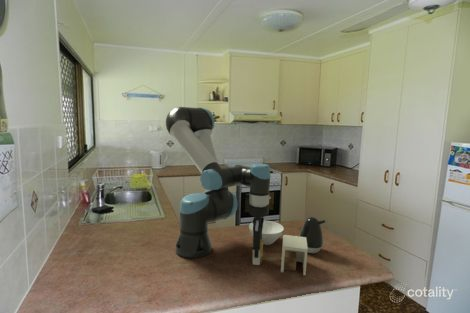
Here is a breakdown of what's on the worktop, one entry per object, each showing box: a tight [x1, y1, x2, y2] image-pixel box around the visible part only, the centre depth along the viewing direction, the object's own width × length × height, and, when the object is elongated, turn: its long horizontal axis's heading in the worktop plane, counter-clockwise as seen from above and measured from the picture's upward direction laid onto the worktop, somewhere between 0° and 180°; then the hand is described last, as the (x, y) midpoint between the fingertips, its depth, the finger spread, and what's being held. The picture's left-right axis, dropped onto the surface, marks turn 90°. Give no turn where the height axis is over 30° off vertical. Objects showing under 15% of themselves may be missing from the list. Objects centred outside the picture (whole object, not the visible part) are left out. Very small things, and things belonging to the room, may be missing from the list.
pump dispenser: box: [299, 216, 326, 254], centre depth 122 cm, size 10×10×15 cm
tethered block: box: [251, 239, 297, 272], centre depth 110 cm, size 17×5×9 cm, turn 78°
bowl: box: [248, 220, 285, 246], centre depth 131 cm, size 16×16×7 cm
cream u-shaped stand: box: [280, 234, 308, 276], centre depth 109 cm, size 9×10×10 cm
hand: (256, 261), depth 112 cm, fingers closed on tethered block, 4 cm apart
